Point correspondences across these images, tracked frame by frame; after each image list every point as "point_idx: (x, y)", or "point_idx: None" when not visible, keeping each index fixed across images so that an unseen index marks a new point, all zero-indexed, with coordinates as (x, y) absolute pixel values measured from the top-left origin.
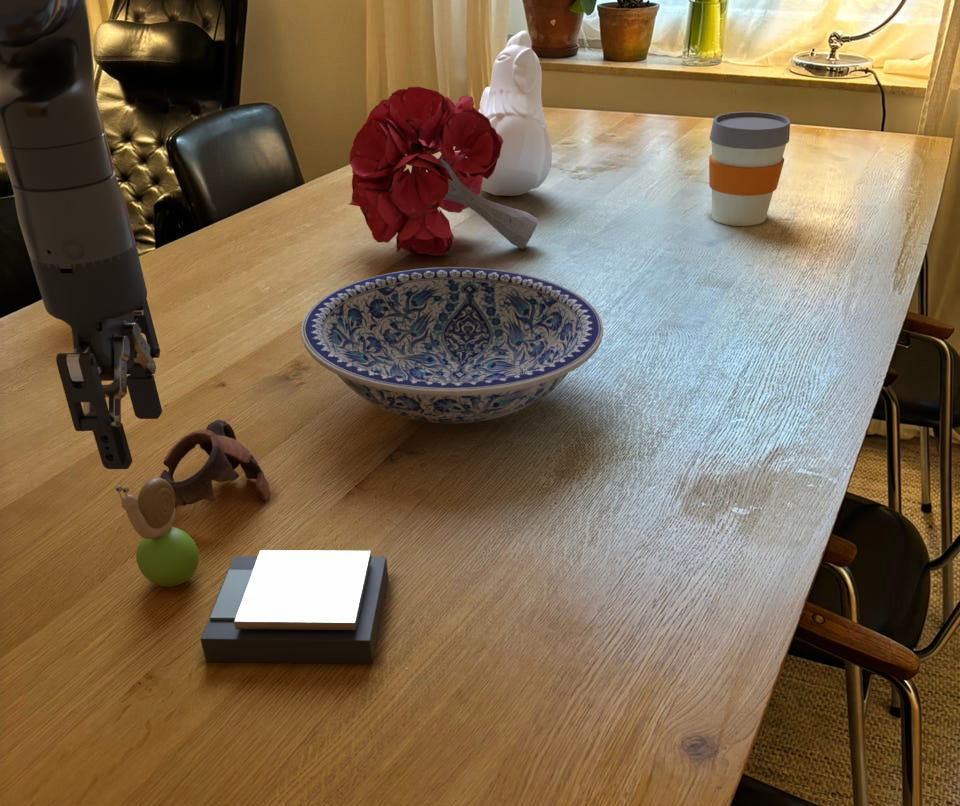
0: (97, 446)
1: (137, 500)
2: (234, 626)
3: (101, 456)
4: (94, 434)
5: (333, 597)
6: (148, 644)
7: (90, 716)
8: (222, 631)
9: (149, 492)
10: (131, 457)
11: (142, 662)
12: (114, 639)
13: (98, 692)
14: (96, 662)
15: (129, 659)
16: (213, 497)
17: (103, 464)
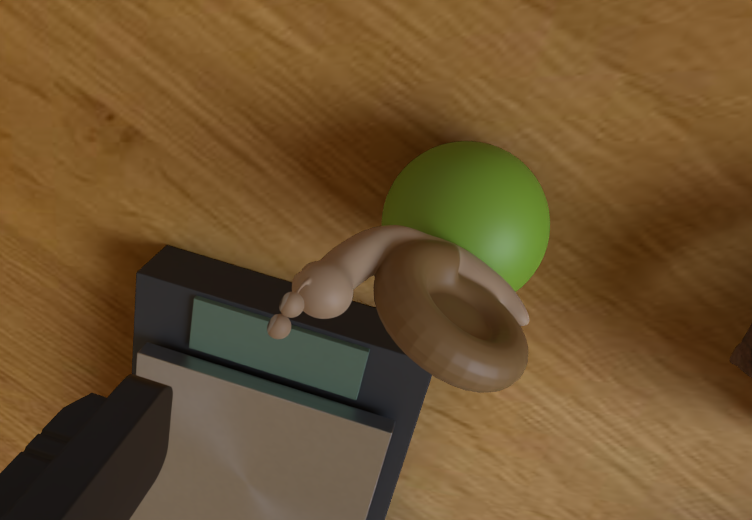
0: (70, 441)
1: (398, 293)
2: (172, 335)
3: (45, 427)
4: (21, 497)
5: (202, 511)
6: (233, 133)
7: (12, 18)
8: (157, 313)
9: (400, 346)
10: (146, 490)
11: (173, 121)
12: (259, 54)
13: (82, 29)
14: (179, 16)
15: (185, 93)
16: (735, 363)
17: (126, 380)
